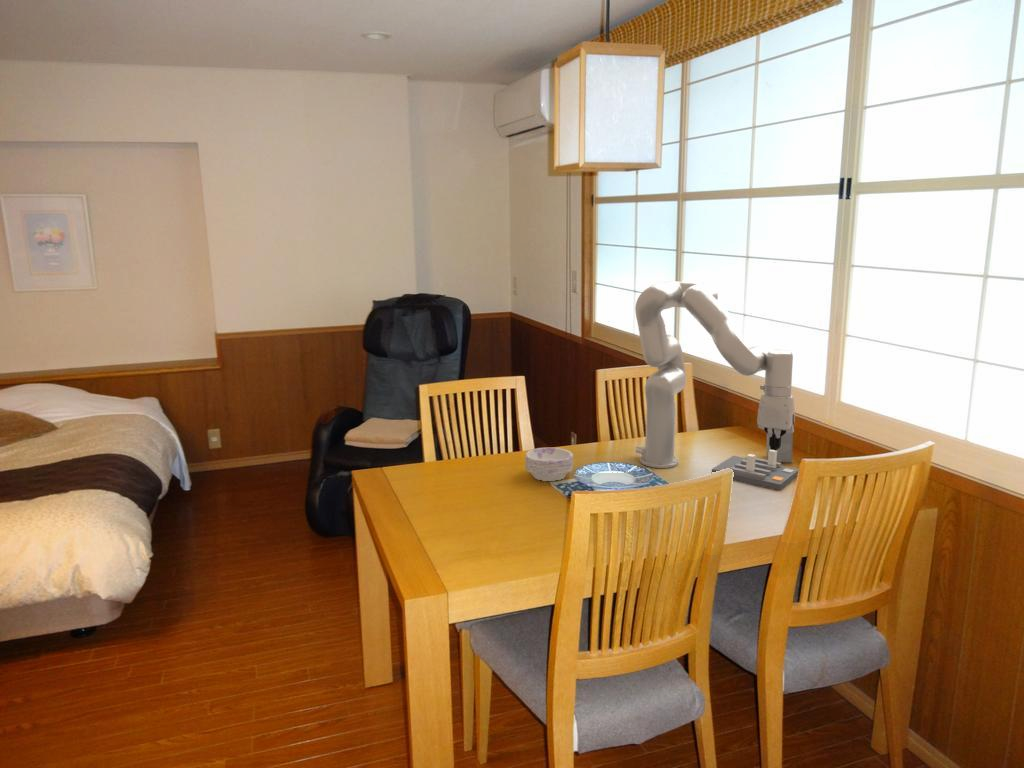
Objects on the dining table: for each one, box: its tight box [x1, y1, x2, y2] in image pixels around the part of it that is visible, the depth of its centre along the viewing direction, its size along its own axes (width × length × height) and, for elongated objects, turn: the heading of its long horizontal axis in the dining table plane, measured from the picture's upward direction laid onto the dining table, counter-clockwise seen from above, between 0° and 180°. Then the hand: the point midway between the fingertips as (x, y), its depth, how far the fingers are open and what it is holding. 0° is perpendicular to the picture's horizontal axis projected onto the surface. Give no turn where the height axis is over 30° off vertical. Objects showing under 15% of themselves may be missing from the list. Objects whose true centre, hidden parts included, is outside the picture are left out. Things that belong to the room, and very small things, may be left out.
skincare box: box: [765, 429, 794, 463], centre depth 250 cm, size 8×7×16 cm
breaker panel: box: [711, 455, 800, 492], centre depth 236 cm, size 22×17×3 cm
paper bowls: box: [524, 446, 574, 482], centre depth 236 cm, size 15×15×8 cm
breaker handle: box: [767, 450, 777, 466], centre depth 237 cm, size 2×2×6 cm
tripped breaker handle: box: [746, 453, 757, 472], centre depth 232 cm, size 2×2×6 cm
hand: (774, 449), depth 226 cm, fingers closed
